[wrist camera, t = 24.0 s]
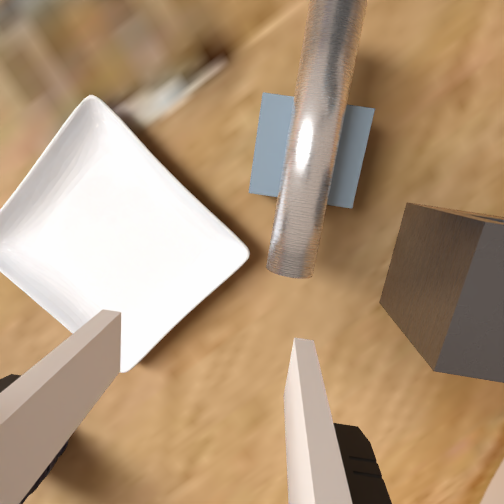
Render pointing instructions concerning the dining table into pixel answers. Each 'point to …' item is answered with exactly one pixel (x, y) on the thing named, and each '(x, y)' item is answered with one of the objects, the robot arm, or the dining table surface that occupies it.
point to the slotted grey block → (450, 289)
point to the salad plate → (112, 234)
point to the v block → (275, 139)
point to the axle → (314, 133)
